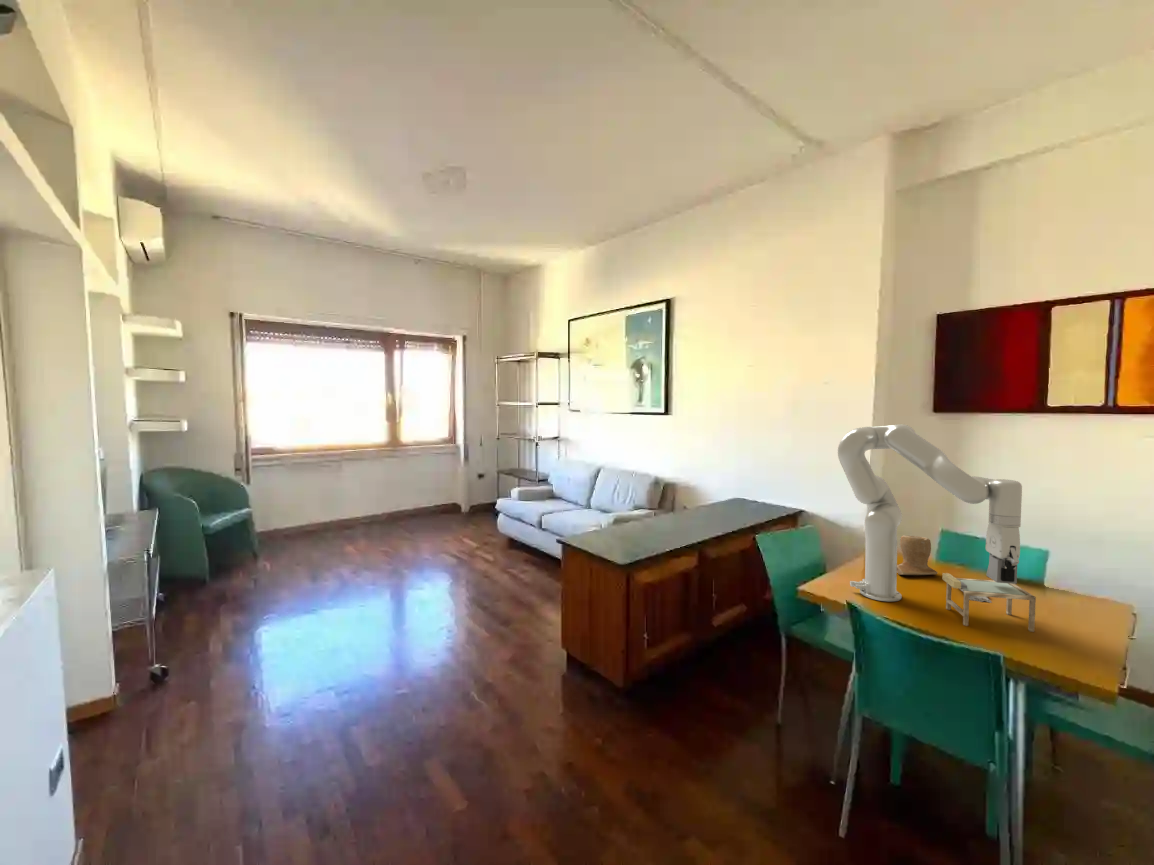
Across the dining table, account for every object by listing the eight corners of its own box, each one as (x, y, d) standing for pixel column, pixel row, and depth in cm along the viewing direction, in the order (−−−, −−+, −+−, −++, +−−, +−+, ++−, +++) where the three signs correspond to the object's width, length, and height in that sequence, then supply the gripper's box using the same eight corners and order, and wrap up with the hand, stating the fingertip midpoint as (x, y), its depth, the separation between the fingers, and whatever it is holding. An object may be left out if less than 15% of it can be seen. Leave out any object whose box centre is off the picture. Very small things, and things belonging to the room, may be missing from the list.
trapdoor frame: (964, 625, 153) (965, 591, 152) (945, 608, 165) (946, 577, 164) (1034, 631, 148) (1035, 597, 147) (1009, 613, 160) (1011, 581, 160)
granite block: (997, 582, 153) (997, 560, 153) (988, 576, 158) (989, 555, 157) (1016, 583, 152) (1017, 561, 151) (1007, 578, 156) (1008, 556, 156)
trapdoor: (954, 592, 154) (955, 582, 154) (940, 581, 164) (941, 572, 163) (1025, 598, 149) (1025, 587, 149) (1006, 586, 159) (1007, 576, 158)
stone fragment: (970, 604, 170) (1003, 606, 168) (970, 596, 170) (1003, 597, 168) (933, 577, 195) (961, 578, 193) (933, 570, 195) (962, 571, 193)
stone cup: (921, 568, 204) (922, 531, 203) (942, 578, 193) (943, 540, 192) (884, 568, 205) (885, 532, 204) (902, 578, 193) (903, 540, 192)
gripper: (976, 513, 163) (974, 568, 164) (1005, 526, 146) (1002, 586, 147) (1003, 514, 161) (1001, 569, 162) (1036, 527, 144) (1033, 589, 145)
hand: (1002, 577), depth 155 cm, fingers closed on granite block, 5 cm apart
